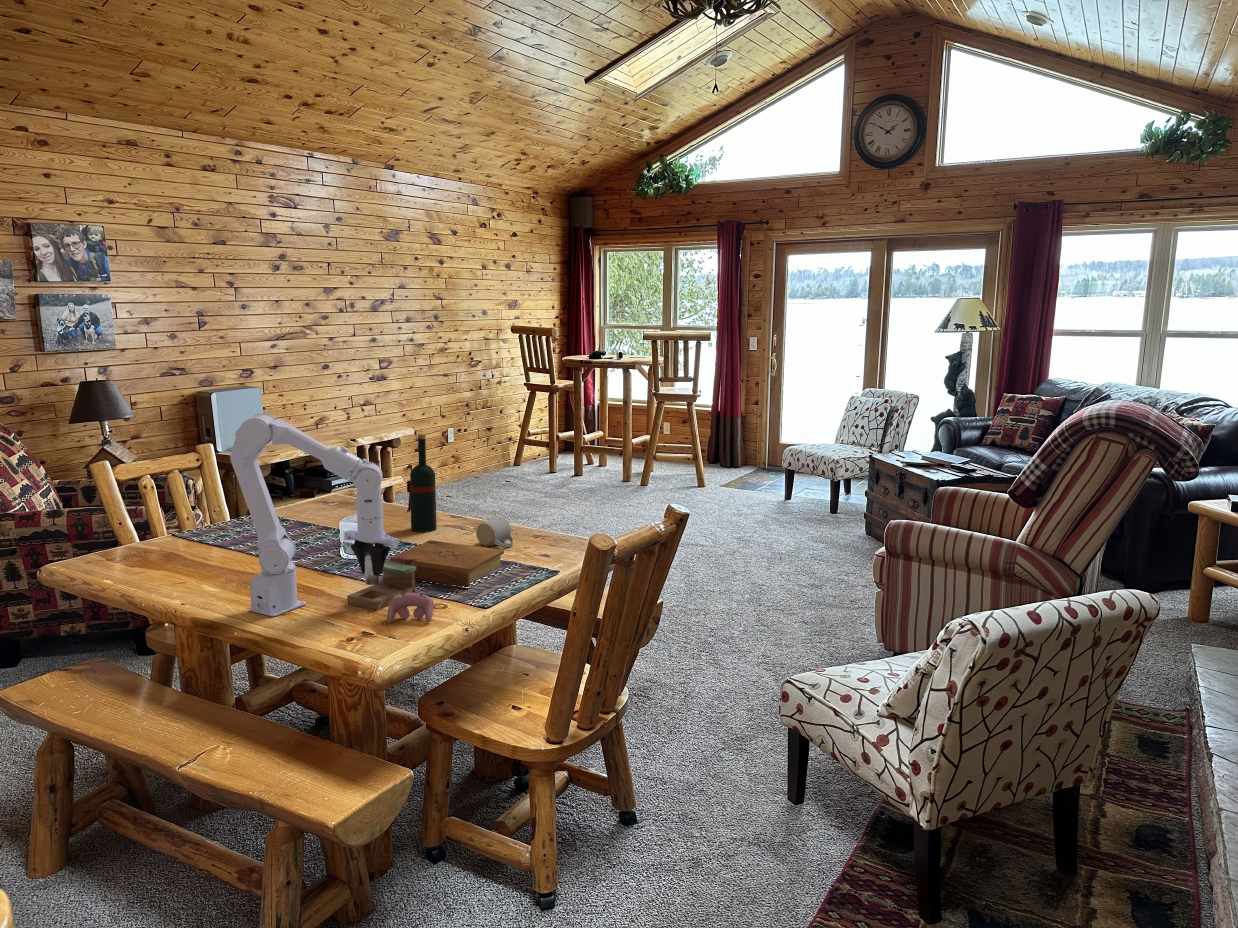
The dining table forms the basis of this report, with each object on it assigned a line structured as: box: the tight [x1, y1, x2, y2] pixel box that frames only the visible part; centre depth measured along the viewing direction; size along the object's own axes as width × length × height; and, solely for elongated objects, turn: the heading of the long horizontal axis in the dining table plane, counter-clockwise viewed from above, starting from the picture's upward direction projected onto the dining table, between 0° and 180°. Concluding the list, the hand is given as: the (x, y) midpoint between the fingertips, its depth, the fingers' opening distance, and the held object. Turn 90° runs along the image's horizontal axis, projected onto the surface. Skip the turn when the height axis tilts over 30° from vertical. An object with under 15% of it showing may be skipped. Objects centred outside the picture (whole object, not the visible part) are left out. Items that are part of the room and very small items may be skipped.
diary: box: [389, 539, 505, 587], centre depth 212 cm, size 23×19×6 cm
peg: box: [364, 552, 380, 586], centre depth 188 cm, size 3×3×7 cm
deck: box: [346, 559, 416, 611], centre depth 192 cm, size 13×10×7 cm
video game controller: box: [386, 592, 435, 624], centre depth 180 cm, size 10×5×7 cm, turn 92°
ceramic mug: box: [475, 515, 515, 549], centre depth 239 cm, size 11×8×8 cm
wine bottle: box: [405, 433, 438, 534], centre depth 253 cm, size 8×10×30 cm
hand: (372, 573), depth 188 cm, fingers closed on peg, 3 cm apart
